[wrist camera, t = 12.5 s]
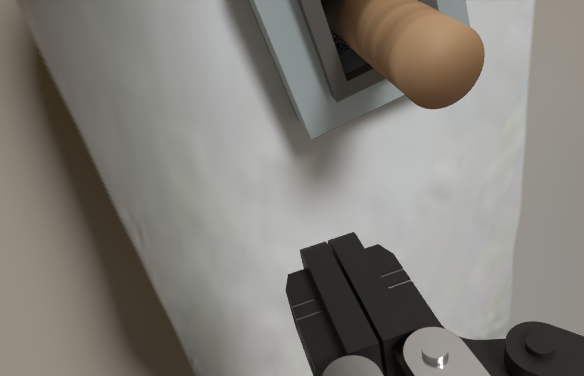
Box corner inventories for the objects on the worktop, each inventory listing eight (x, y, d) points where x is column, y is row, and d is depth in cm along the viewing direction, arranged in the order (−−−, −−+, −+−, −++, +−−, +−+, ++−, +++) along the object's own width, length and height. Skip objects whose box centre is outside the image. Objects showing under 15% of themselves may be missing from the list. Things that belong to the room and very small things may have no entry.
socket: (227, -51, 30) (240, -39, 26) (417, -141, 30) (452, -140, 26) (298, 120, 37) (316, 146, 33) (451, 47, 37) (483, 65, 33)
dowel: (311, -13, 32) (394, 47, 22) (370, -41, 32) (478, 7, 22) (330, 45, 34) (413, 122, 25) (385, 19, 34) (489, 86, 25)
